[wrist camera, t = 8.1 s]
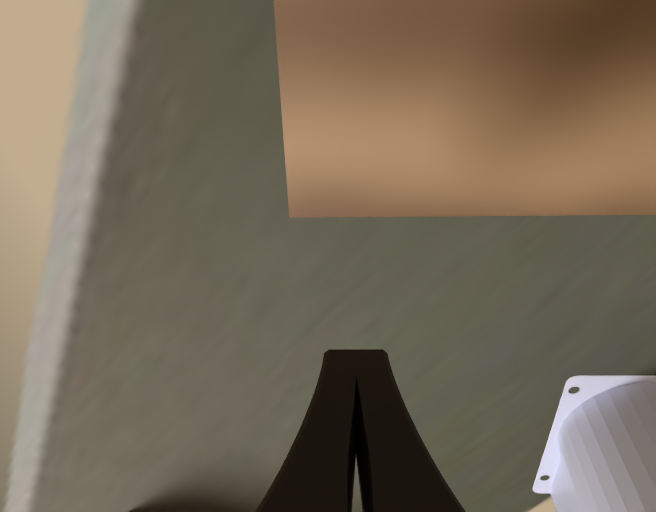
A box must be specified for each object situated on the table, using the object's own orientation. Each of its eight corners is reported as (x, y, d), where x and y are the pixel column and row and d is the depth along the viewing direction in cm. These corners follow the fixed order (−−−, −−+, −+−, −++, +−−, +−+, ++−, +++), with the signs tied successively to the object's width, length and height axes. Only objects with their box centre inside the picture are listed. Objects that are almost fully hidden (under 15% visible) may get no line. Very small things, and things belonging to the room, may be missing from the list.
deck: (690, 169, 20) (738, 213, 18) (295, 174, 21) (289, 217, 18) (847, -241, 14) (955, -261, 11) (271, -222, 14) (256, -238, 12)
